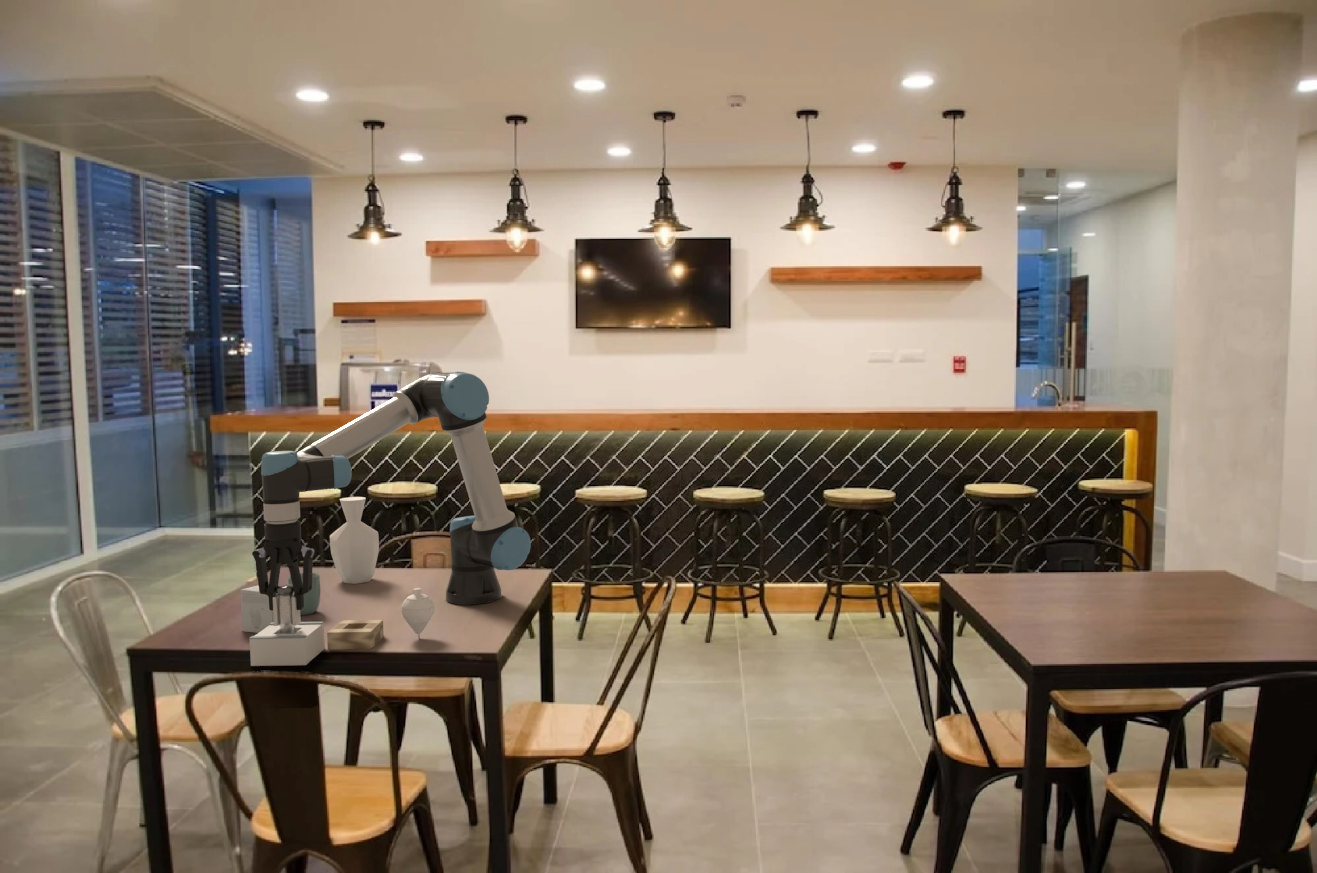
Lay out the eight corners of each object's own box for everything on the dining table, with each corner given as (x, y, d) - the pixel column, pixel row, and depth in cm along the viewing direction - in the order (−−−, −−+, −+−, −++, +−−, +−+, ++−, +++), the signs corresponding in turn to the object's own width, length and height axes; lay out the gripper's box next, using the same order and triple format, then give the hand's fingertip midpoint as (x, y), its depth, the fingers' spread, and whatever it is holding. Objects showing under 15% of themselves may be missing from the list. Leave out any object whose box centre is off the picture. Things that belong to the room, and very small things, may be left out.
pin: (300, 649, 214) (298, 584, 213) (294, 654, 210) (291, 588, 209) (283, 649, 214) (280, 584, 213) (276, 654, 210) (273, 588, 209)
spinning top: (409, 632, 229) (407, 584, 228) (439, 633, 228) (438, 584, 227) (397, 642, 222) (395, 592, 221) (428, 643, 221) (427, 592, 220)
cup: (310, 617, 244) (308, 579, 243) (283, 616, 246) (281, 578, 245) (326, 609, 252) (325, 572, 251) (300, 608, 253) (298, 572, 253)
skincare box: (292, 628, 235) (290, 587, 234) (272, 635, 229) (270, 593, 228) (261, 624, 239) (259, 583, 238) (240, 631, 233) (238, 589, 232)
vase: (390, 577, 288) (387, 496, 286) (358, 588, 275) (354, 503, 273) (354, 573, 294) (350, 494, 292) (320, 583, 281) (317, 501, 279)
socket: (324, 648, 218) (323, 621, 217) (305, 665, 206) (304, 636, 206) (273, 648, 218) (271, 622, 217) (250, 665, 206) (249, 637, 206)
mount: (383, 635, 227) (383, 619, 227) (371, 648, 217) (370, 631, 217) (342, 636, 227) (341, 620, 227) (327, 649, 217) (327, 632, 217)
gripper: (325, 517, 213) (330, 618, 215) (252, 518, 213) (257, 619, 215) (313, 523, 206) (318, 628, 208) (237, 524, 206) (243, 629, 208)
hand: (287, 623), depth 211 cm, fingers open, 3 cm apart
